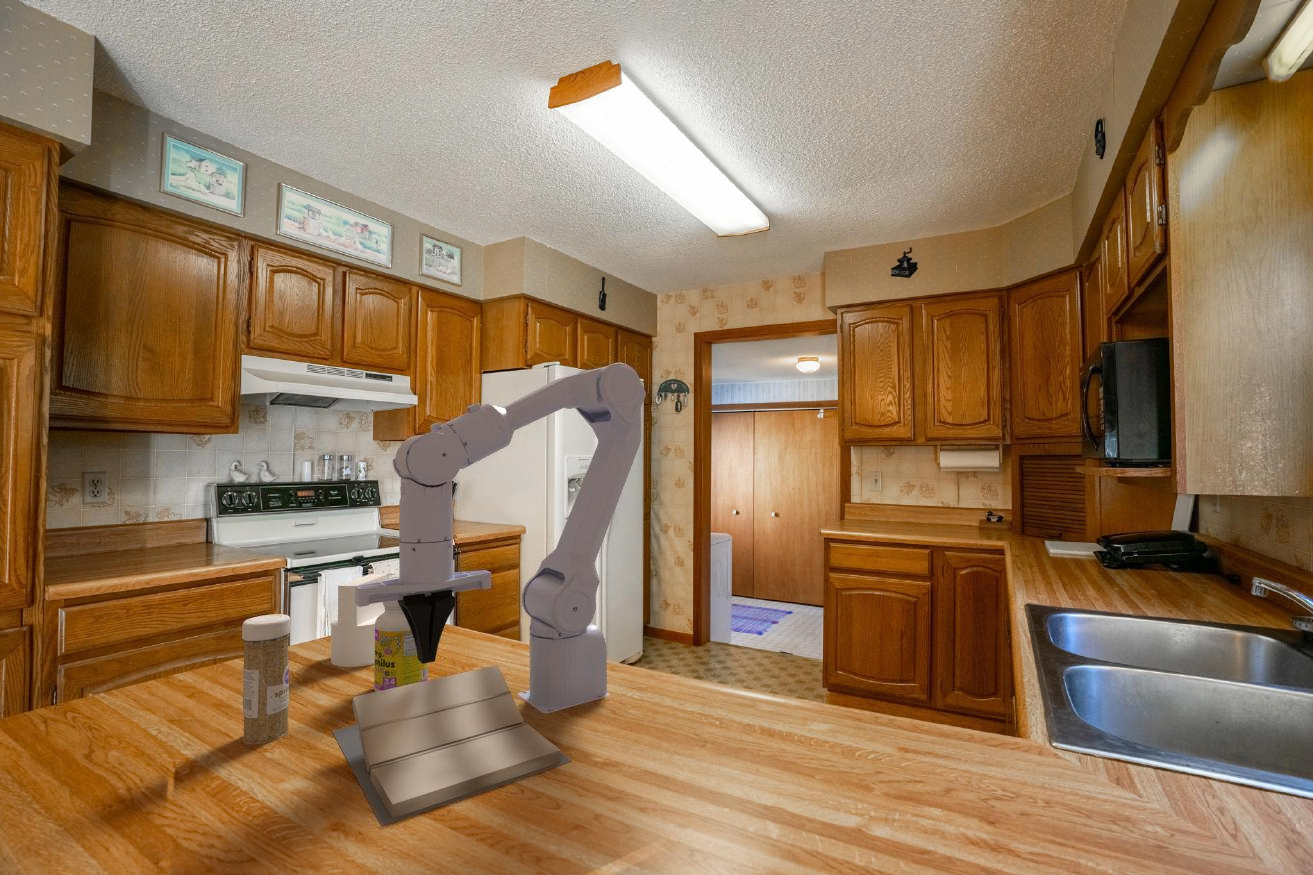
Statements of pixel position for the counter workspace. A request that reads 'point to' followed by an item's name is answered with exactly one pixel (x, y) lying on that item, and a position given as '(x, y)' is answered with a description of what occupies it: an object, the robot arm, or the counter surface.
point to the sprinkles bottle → (265, 678)
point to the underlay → (356, 760)
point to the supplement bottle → (396, 651)
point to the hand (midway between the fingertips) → (426, 660)
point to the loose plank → (433, 714)
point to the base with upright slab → (355, 626)
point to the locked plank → (461, 768)
